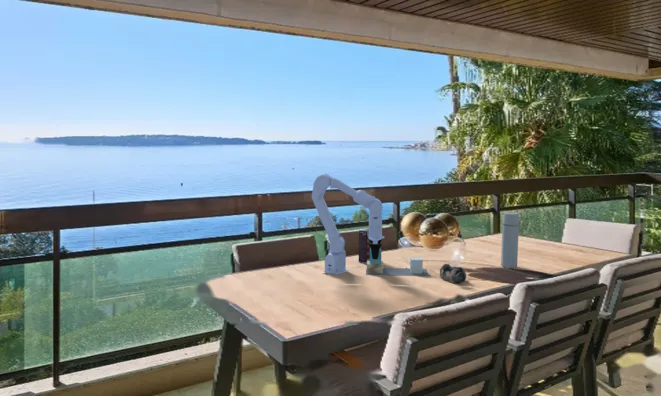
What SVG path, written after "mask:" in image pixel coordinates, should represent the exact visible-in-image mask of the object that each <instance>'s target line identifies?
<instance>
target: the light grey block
mask: <svg viewBox="0 0 661 396" xmlns="http://www.w3.org/2000/svg"><path fill="white" fill-rule="evenodd" d="M423 261H424V260H423V257H415V256H414V257H412V256H411V257H410V258H409V269H410V272H411V273H415V274H422V269H424V267H423Z"/></svg>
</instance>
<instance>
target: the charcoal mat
mask: <svg viewBox="0 0 661 396" xmlns="http://www.w3.org/2000/svg"><path fill="white" fill-rule="evenodd" d="M365 275H366V276H389V277H391V276H395V277H396V276H397V277H398V276H400V277H401V276H402V277H407V276H408V277H430V274H429V272H428V270H427V268H422V274H415V273H411V272H410V268H401V267H391V268H390V267H383V274H380V273H367V267H366V269H365Z"/></svg>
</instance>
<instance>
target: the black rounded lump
mask: <svg viewBox="0 0 661 396" xmlns="http://www.w3.org/2000/svg"><path fill="white" fill-rule="evenodd" d="M440 267H441V268H440V269H439V277H440V279H442V280H444V281H446V282H448V283H450V284H456V285H457V284H459V283H462V282H466V279H467V273H466V270H465V269H464V268H463V267H461V266H451V265H450V264H449V263H444V264H443V265H442V266H440Z"/></svg>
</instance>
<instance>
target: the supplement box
mask: <svg viewBox="0 0 661 396" xmlns="http://www.w3.org/2000/svg"><path fill="white" fill-rule="evenodd" d="M368 236H369V227H367V228H365V229H359V231H358V263H361V262H362V263H363V264H367V261H370V246H369V243H370V241H369V238H368Z"/></svg>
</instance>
